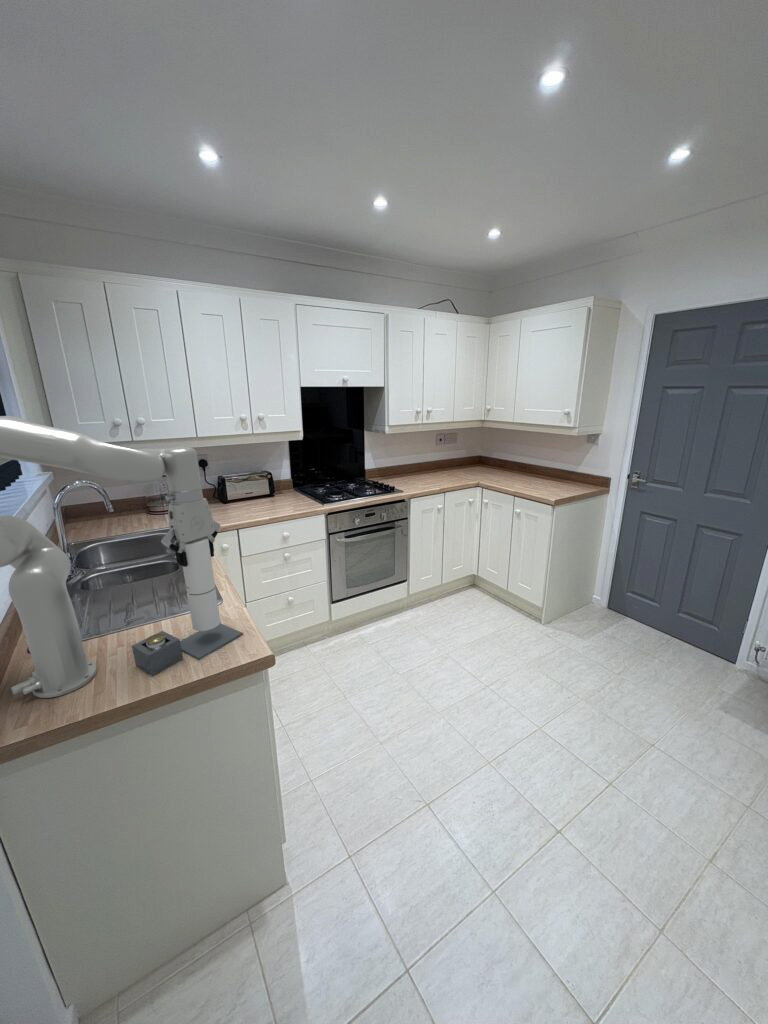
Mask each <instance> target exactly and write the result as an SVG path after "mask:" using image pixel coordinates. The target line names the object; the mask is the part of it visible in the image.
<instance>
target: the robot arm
mask: <svg viewBox="0 0 768 1024" xmlns="http://www.w3.org/2000/svg"><path fill="white" fill-rule="evenodd" d="M197 455H198V453H197V451H196V449H195V448H193V447H189V446H179V447H178V446H177V447H170V448H145V447H144V448H139V449H134V448H129V447H124V446H119V445H117V444H116V445H115V444H112V443H111V444H110V443H107V442H104V441H100V440H97V439H95V438H93V437H90V436H88V435H86V434H85V433H81V432H78V431H74V430H69V429H63V428H60V427H59V428H58V427H53V426H50V425H49V426H48V425H43V424H39V423H35V422H31V421H28V420H25V419H24V418H21V417H18V416H15V415H13V416H12V415H0V466H2V465H3V464H5V463H8V462H10V461H18V462H19V461H20V462H25V463H31V464H37V465H43V466H50V467H55V468H61V469H66V470H70V471H75V472H77V473H83V474H87V475H91V476H92V475H93V476H97V477H102V478H106V479H110V480H115V481H122V482H126V483H134V484H138V485H139V484H140V485H150V484H154V483H157V482H158V481H160V480H161V479H162V478H163V476H165V477H166V479H167V480H166V481H167V485H168V494H167V495H165V496H164V499H165V500H166V502H168V501H170V502H169V503H168V527H169V529H168V531H167V532H166V534H165V535H164V536H163V538H162V539H161V541H160V542H161V544H162V545H163V546H165V547H167V548H168V549H169V550H172V551H173V552H174V553H175V557H176V558H175V559H176V562H177V564H178V565H179V566H181V567H183V566H184V567H186V566H187V565H188V564H187V558H186V553H185V552H183V549H184V546H185V543H187V542H190V541H194V540H197V539H200V538H203V537H208V540H209V547H210V554H211V558H213V557H215V547H214V543H215V541H216V539H215V538H216V537H217V535H218V532H219V530H220V528H221V523H219V522H216V521H214V519H213V515H212V510H211V507H210V505H209V502H208V500H207V498H205V497H204V495H203V488H202V482H201V475H200V468H199V467H200V466H199V460H198V456H197ZM171 540H172V541H174V543H172V541H171ZM179 543H180V544H179ZM9 565H10V566H11V567H12V568H14V569H15V570H14V571H13V572H12V574H11V576H10V578H9V580H8V594H9V597H10V600H11V601H12V604H13V605H14V608H15V609H16V612H17V614H18V617H19V620H20V622H21V626H22V630H23V633H24V636H25V639H26V642H27V647H28V650H29V653H30V657H31V660H32V664H33V667H34V671H31V675H32V676H30V677H28V678H27V680H25V681H24V682H20V683H18V684H16V685H13V686H11V687H10V691H11V692H12V694H13V696H16V695H17V694H20V693H23V694H24V695H25V696H26V695H28V694H29V693H32V695H33V696H34V697H36V698H39V699H48V698H49V699H50V698H56V697H60V696H65V695H66V694H69V693H72V692H74V691H76V690H78V689H80V688H81V687H83V686H85V685H87V684H88V683H89V682H90V681H91V680H93V678H94V677H95V676H96V674H97V673H98V672H97V671H98V667H97V665H96V664H95V662H92V661H89V660H87V657H86V651H85V647H84V644H83V640H82V636H81V633H80V628H79V625H78V621H77V616H76V613H75V609H74V606H73V601H72V600H71V597H70V595H69V591H68V588H67V580H68V577H69V574H70V573H71V568H72V565H71V561H70V558H69V557H68V555H67V554H66V552H64V551H63V550H62V549H61V548H60V547H59V546H57V545H56V544H55V543H54V542H53V541H51V539H49V537H47V536H46V535H45V534H43V533H42V531H40V530H39V529H37V528H36V527H35V526H34V525H33V524H31V523H30V522H29V521H27V520H25V519H23V518H20V517H18V516H13V515H0V568H4V567H6V566H9Z"/></svg>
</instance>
